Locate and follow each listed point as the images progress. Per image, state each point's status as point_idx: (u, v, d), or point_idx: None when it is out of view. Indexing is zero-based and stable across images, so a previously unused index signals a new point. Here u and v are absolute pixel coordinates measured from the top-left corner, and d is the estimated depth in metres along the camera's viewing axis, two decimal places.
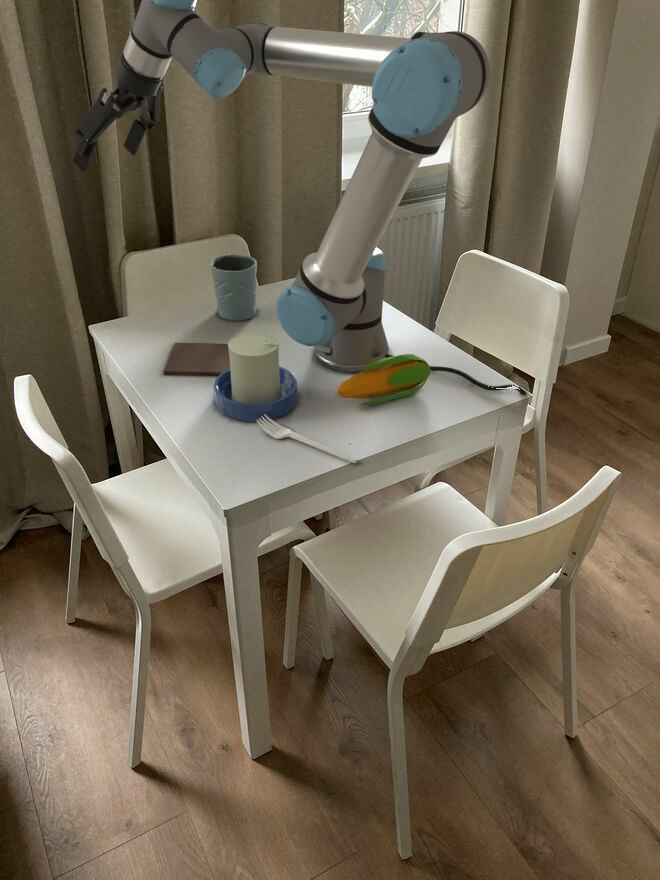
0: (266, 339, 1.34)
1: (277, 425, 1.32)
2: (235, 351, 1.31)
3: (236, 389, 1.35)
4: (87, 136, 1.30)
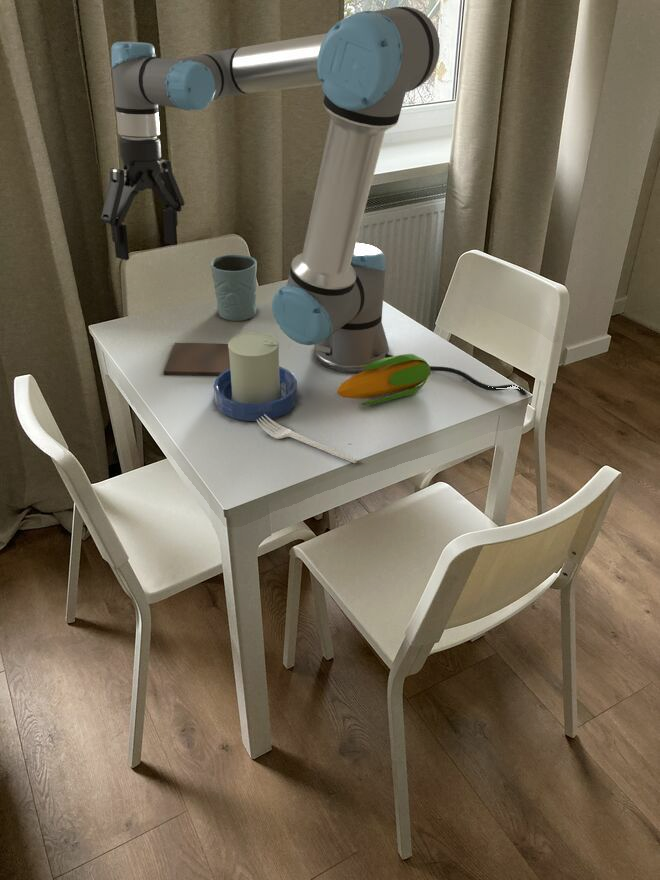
0: (266, 339, 1.34)
1: (277, 425, 1.32)
2: (235, 351, 1.31)
3: (236, 389, 1.35)
4: (112, 215, 1.36)
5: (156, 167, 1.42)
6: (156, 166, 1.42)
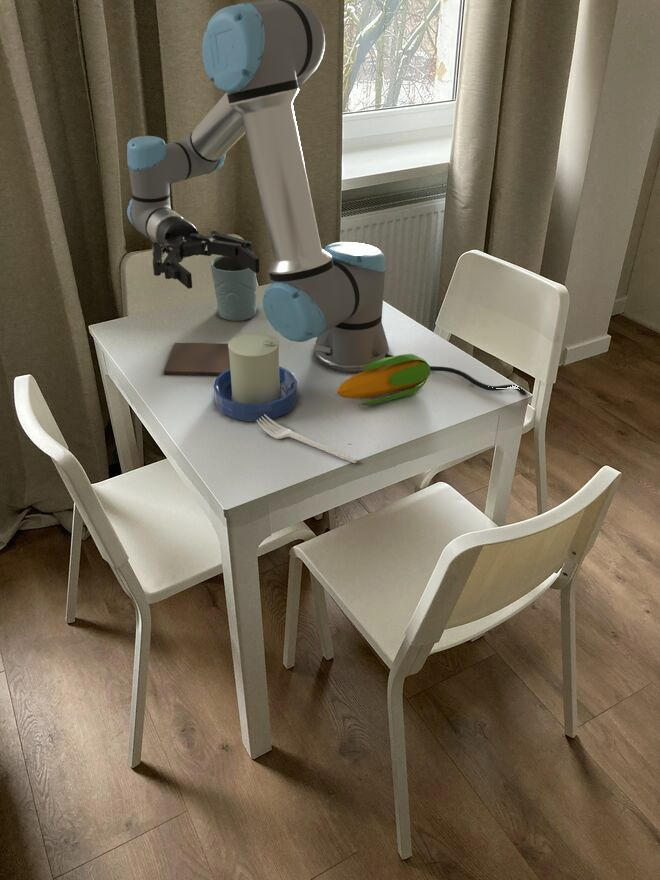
0: (266, 339, 1.34)
1: (277, 425, 1.32)
2: (235, 351, 1.31)
3: (236, 389, 1.35)
4: (154, 259, 1.34)
5: None
6: (198, 235, 1.45)
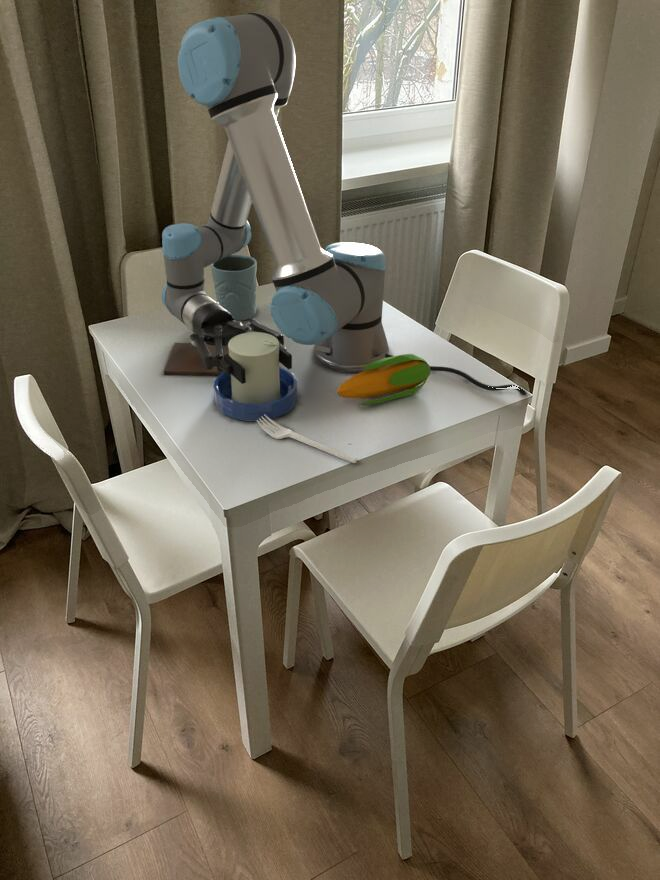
0: (266, 339, 1.34)
1: (277, 425, 1.32)
2: (235, 351, 1.31)
3: (236, 389, 1.35)
4: (205, 354, 1.33)
5: (235, 323, 1.44)
6: (235, 322, 1.44)
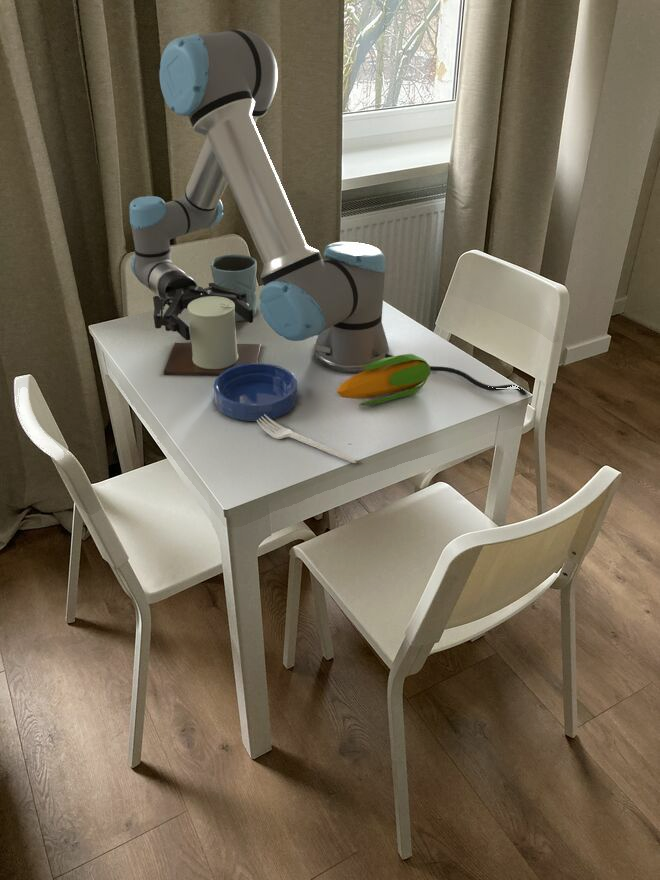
0: (223, 302, 1.46)
1: (277, 425, 1.32)
2: (193, 312, 1.42)
3: (195, 348, 1.46)
4: (154, 313, 1.44)
5: None
6: None
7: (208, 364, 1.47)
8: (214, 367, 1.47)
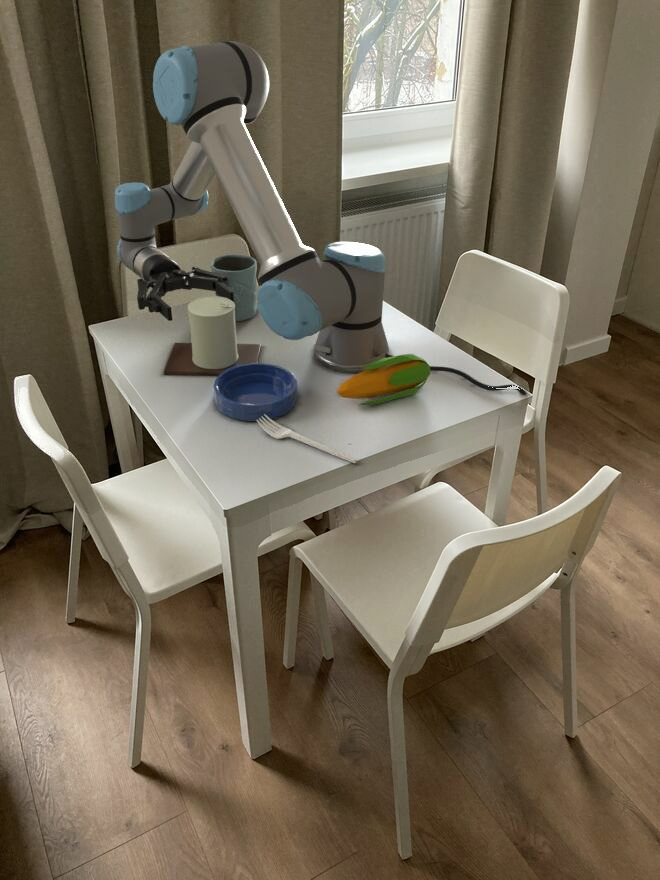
0: (223, 302, 1.46)
1: (277, 425, 1.32)
2: (193, 312, 1.42)
3: (195, 348, 1.46)
4: (138, 295, 1.49)
5: None
6: (180, 271, 1.59)
7: (208, 364, 1.47)
8: (214, 367, 1.47)
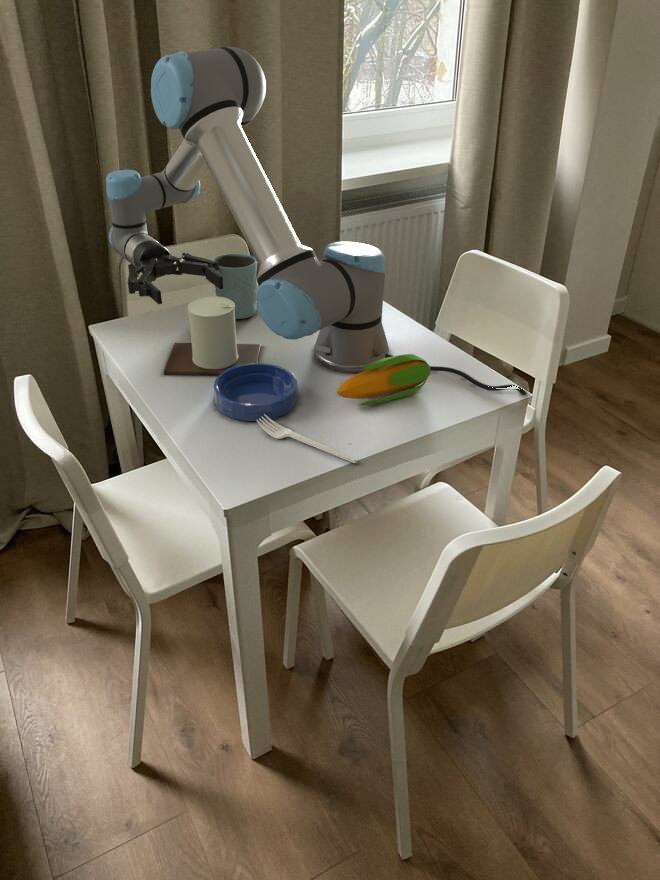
0: (223, 302, 1.46)
1: (277, 425, 1.32)
2: (193, 312, 1.42)
3: (195, 348, 1.46)
4: (128, 279, 1.51)
5: (171, 257, 1.61)
6: (170, 257, 1.61)
7: (208, 364, 1.47)
8: (214, 367, 1.47)
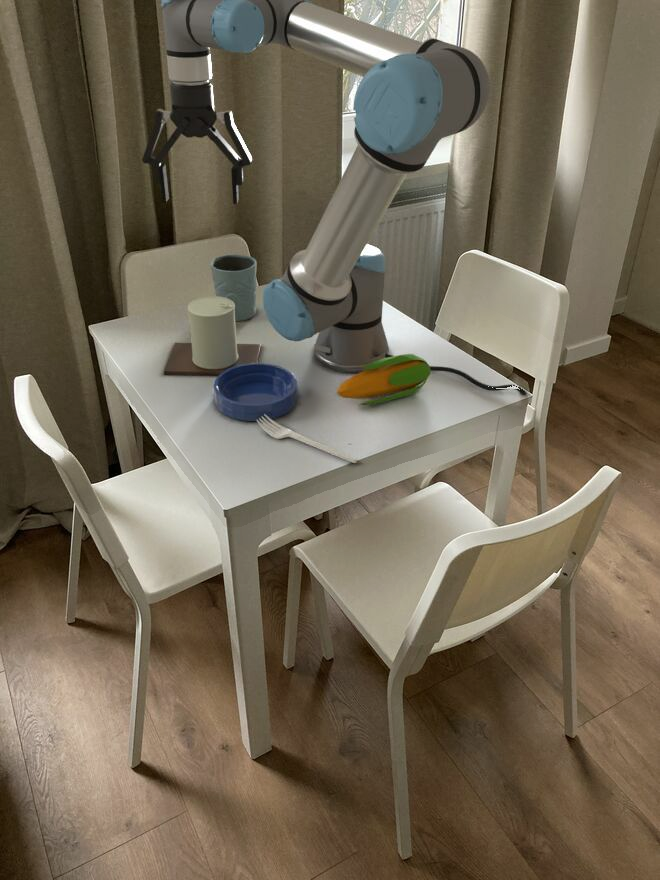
0: (223, 302, 1.46)
1: (277, 425, 1.32)
2: (193, 312, 1.42)
3: (195, 348, 1.46)
4: (145, 154, 1.38)
5: (208, 116, 1.34)
6: (208, 115, 1.34)
7: (208, 364, 1.47)
8: (214, 367, 1.47)
